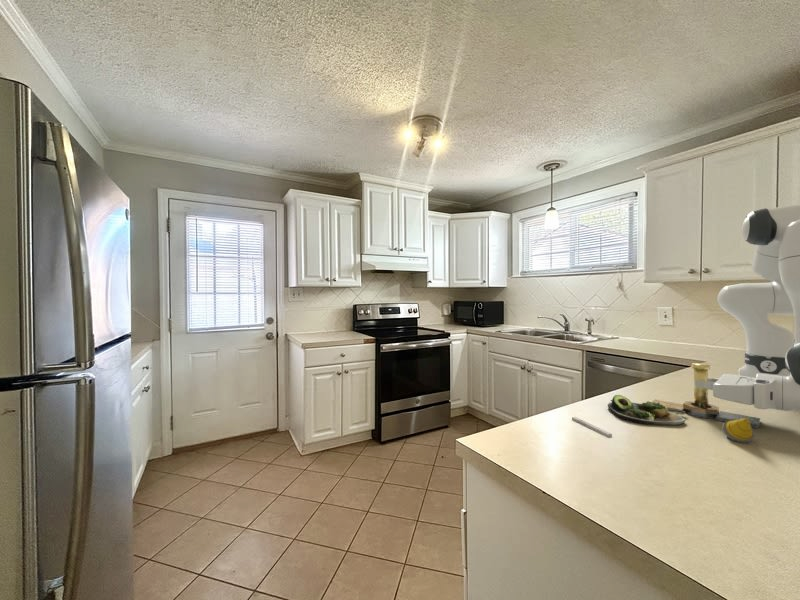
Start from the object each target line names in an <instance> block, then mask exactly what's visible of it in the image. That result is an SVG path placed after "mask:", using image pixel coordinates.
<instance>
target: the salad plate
mask: <svg viewBox="0 0 800 600" xmlns="http://www.w3.org/2000/svg"><path fill="white" fill-rule="evenodd" d="M666 406H667V405H666V404H665V405H664V406H663V405H660V403H653V402H652V401H649V400H648V401H646V402H642V403H638V402H637V403H636V402H632V401H631V400H630V399H629V398H627V397H626V396H623V395H622V394H615V395H613V397H612V399H610V402H608V404H607V407H608V409H609V411H610V413H612V414H613V415H614V416H615V417H617V418H619V419H621V420H623V421H626V422H631V423H633V424H641V425H653V426H654V425H656V426H679V425H682V424H684V423H685V422H686V419H685V417H682V416H680V415H681V414H687V413H686V412H685V411H681V410H675V409H670V408H668V407H666ZM656 419H660V420H662V419H665V420H668V421H659V420H656Z"/></svg>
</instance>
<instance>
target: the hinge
mask: <svg viewBox="0 0 800 600" xmlns="http://www.w3.org/2000/svg"><path fill="white" fill-rule="evenodd" d="M651 402H653V403H660V405H663V406H664V405H665V404H666V405H667V406H666V407H668V408H670V409H675V410H681V411H685V412H686V413H685V414H687V415H690V416H692V417H698V418H701V419H702V418H703V419H716V421H719V422H724V423H725V422H726V421H727V420H730V419H736V420H739V419H745V418H748V419H749V422H750V426H751V428H752V429H759V426H760V424H761V418H760V417H756V416H755V417H754V416H749V415H743V414H738V413H733V412H727V411H722V410H721V411H720V407H719V406H716V405H714V404H711V403H708V408H703V407H697V406H695V405H694V401H685V402H684V403H679V402H678V403H677V402H671V401H667V400H663V399H662V400H661V399H656V398H655V399H654V400H652V401H651Z"/></svg>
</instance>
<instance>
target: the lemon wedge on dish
mask: <svg viewBox="0 0 800 600" xmlns="http://www.w3.org/2000/svg"><path fill="white" fill-rule="evenodd" d="M722 431H723V433H724V434H725V435H726V439H730V440H732V441H734V442H737V443H740V444H747V443H750V442H752V441H753V439H754V438H755V436H756V435H755V430H754V428H753V427H751V426H750V422H749V419H748V418H745V419H739V420H736V419H730V420H727V421H726V422H724V423H723V425H722Z"/></svg>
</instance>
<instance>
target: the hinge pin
mask: <svg viewBox="0 0 800 600" xmlns="http://www.w3.org/2000/svg"><path fill="white" fill-rule="evenodd" d="M691 368H692V369H693V388H694V389H693V398H694V399H693V402H694V405H695V406H697V407H703V408H708V404H709V389H706V388H703V387H697V386H695V381H696V380H704V381H708V378H709V377H708V375H709V374H708V373H709V370H711V365H710V364H707V363H700V362H698V363H697V362H693V363H691Z"/></svg>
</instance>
